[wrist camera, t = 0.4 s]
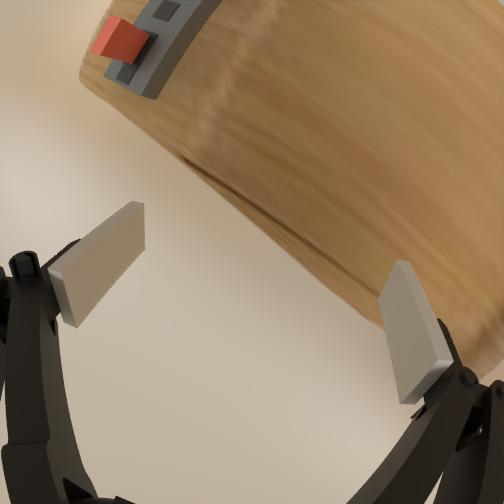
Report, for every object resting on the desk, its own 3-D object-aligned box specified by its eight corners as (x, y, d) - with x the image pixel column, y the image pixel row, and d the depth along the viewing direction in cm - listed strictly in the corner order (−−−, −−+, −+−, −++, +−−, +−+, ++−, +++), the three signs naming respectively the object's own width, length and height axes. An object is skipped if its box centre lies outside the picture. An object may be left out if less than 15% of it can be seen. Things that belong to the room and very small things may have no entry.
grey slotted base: (204, -42, 28) (192, -55, 24) (248, -32, 28) (240, -47, 23) (119, 80, 38) (101, 75, 34) (155, 99, 38) (138, 95, 34)
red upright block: (142, 32, 30) (111, 14, 21) (151, 35, 30) (122, 17, 21) (124, 61, 32) (89, 52, 23) (133, 65, 32) (99, 56, 23)
